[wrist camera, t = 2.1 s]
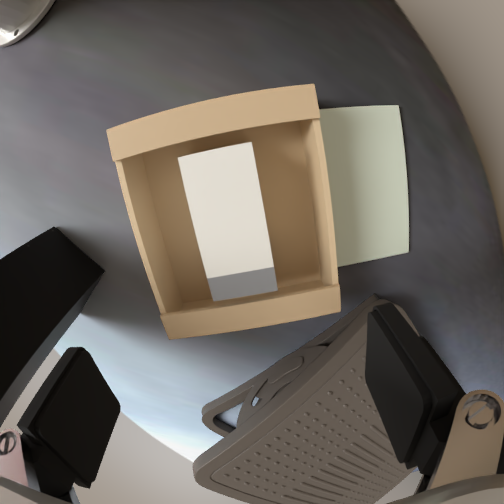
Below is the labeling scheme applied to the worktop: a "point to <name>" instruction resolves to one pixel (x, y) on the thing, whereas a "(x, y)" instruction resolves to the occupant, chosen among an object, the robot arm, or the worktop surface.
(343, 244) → the mat
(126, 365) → the worktop surface
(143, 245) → the carton
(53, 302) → the tissue box
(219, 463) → the foot rest
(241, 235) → the capped box
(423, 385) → the robot arm
